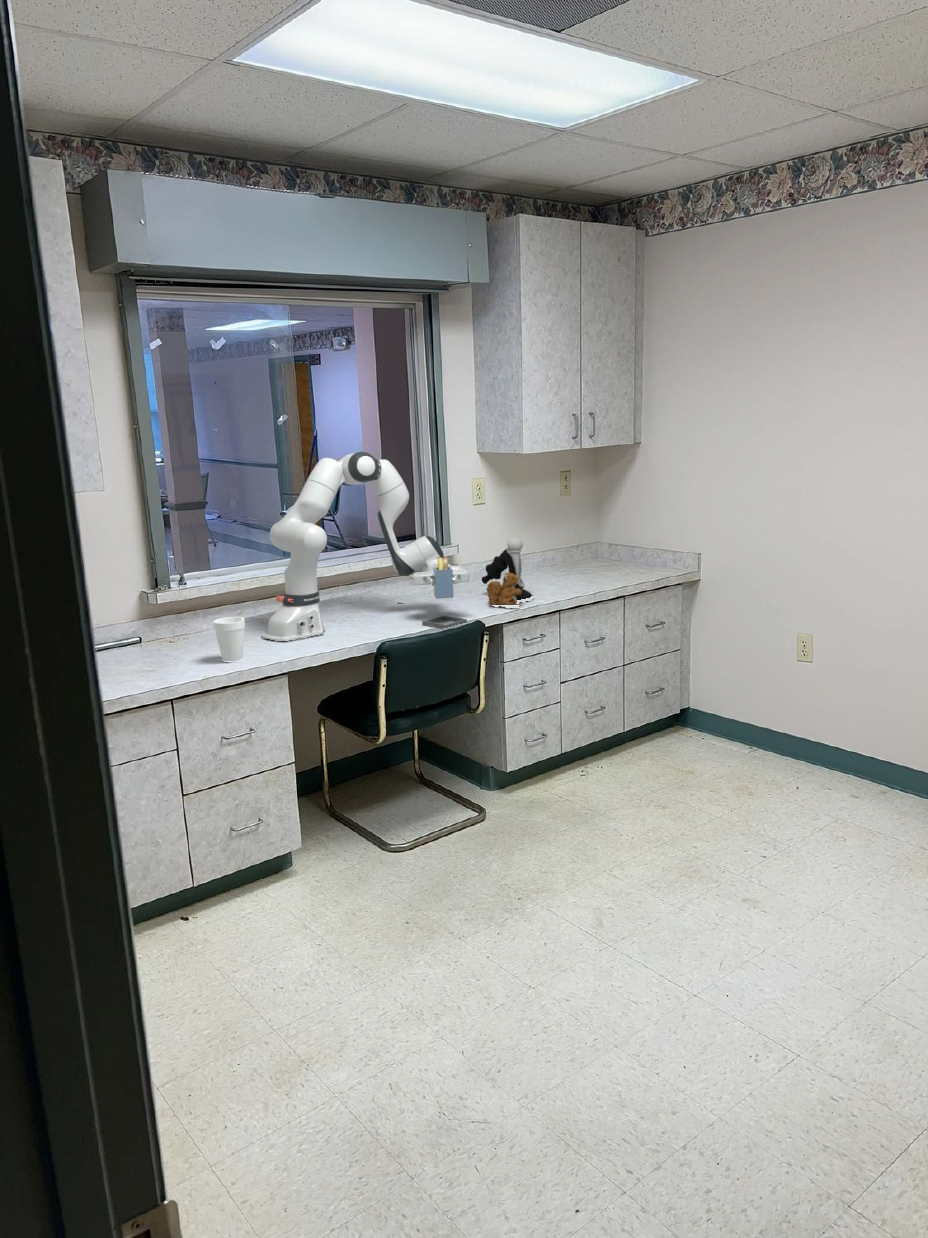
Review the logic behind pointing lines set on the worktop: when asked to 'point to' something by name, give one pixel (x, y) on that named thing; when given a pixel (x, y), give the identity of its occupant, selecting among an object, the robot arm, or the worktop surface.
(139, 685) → the worktop surface
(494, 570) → the sculpture
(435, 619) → the gray square frame
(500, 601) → the stuffed squirrel
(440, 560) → the mustard peg
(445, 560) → the wooden peg
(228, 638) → the foam cup
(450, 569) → the pencil cup
